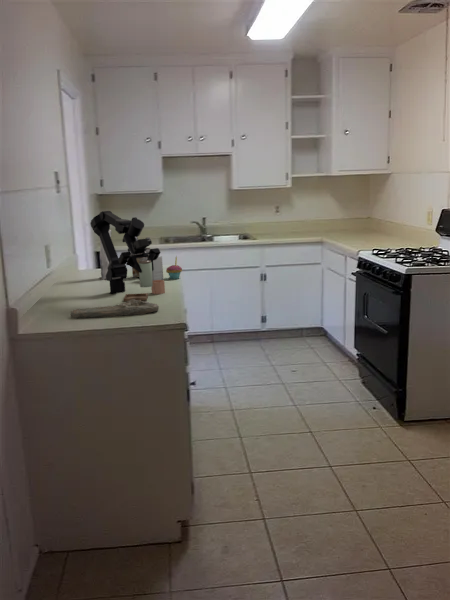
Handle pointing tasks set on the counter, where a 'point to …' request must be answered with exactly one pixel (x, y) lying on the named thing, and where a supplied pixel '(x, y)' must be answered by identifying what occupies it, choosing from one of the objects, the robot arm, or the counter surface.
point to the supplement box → (157, 269)
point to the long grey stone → (116, 310)
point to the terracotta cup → (158, 287)
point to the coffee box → (134, 271)
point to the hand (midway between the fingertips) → (147, 271)
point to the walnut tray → (136, 297)
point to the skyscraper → (103, 261)
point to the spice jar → (145, 273)
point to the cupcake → (174, 270)
